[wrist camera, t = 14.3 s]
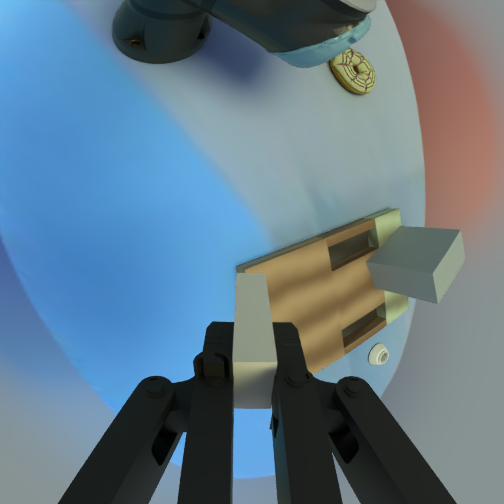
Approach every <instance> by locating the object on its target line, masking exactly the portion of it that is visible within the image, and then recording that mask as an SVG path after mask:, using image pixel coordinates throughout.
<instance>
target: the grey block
mask: <svg viewBox="0 0 504 504" xmlns="http://www.w3.org/2000/svg"><path fill="white" fill-rule="evenodd" d="M464 260H465V253H464V246H463V241H462V235H461V230H456V229H441V228H424V227H405V226H400V227H399V228H398V229H397V230H396V231H395V232H394V233H393V234H392V235H391V236H390V237H389V238H388V239H387V241H386V242H385V243H384V244H383V245H382V246H381V247H380V248H379V249H378V250H377V251H376V252H375V253H374V254H373V255H372V256H371V257H370V258H369V259H368V260H367V261H366V264H367V267H368V269H369V272H370V275H371V278H372V280H373V283H374V286H375V288H377V289H381V290H385V291H389V292H392V293H396V294H400V295H404V296H408V297H412V298H416V299H420V300H424V301H428V302H432V303H436V304H438V303H439V302H440V300H441V299H442V297H443V296H444V294H445V292H446V291H447V289H448V287H449V286H450V284H451V283H452V281H453V280H454V278H455V276H456V274H457V273H458V270H459V269H460V268H461V266H462V264H463V262H464Z"/></svg>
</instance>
